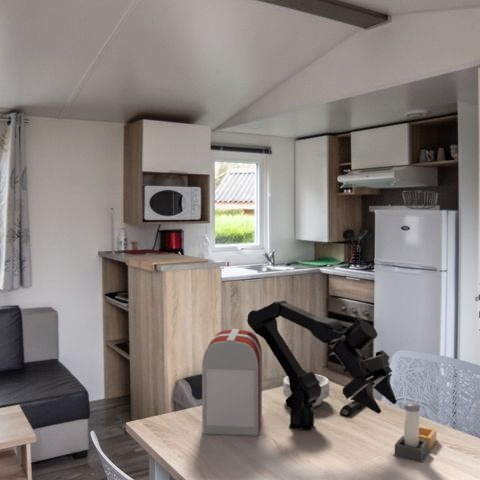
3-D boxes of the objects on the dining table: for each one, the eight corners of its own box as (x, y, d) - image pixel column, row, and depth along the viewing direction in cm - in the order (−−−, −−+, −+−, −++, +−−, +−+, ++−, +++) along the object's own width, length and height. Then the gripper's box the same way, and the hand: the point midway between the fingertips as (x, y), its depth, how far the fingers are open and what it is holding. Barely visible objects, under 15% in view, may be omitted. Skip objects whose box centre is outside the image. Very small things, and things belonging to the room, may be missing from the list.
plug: (403, 456, 143) (404, 406, 142) (403, 450, 147) (404, 401, 146) (419, 458, 142) (420, 408, 141) (418, 452, 146) (419, 403, 145)
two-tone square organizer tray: (422, 467, 139) (422, 451, 139) (392, 459, 144) (392, 444, 143) (438, 444, 153) (438, 430, 153) (410, 438, 157) (410, 424, 157)
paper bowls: (285, 411, 178) (285, 386, 178) (281, 395, 194) (281, 372, 193) (332, 410, 179) (333, 386, 178) (325, 395, 194) (325, 372, 193)
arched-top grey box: (262, 413, 176) (262, 328, 175) (258, 435, 159) (258, 341, 157) (210, 411, 178) (210, 327, 177) (201, 433, 160) (200, 340, 159)
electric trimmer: (370, 405, 185) (370, 395, 185) (349, 418, 173) (349, 408, 173) (360, 402, 187) (360, 393, 187) (338, 415, 175) (338, 405, 175)
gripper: (353, 349, 143) (393, 401, 137) (386, 336, 158) (423, 382, 151) (326, 373, 149) (363, 424, 143) (360, 358, 163) (395, 404, 157)
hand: (388, 407), depth 148 cm, fingers open, 9 cm apart
